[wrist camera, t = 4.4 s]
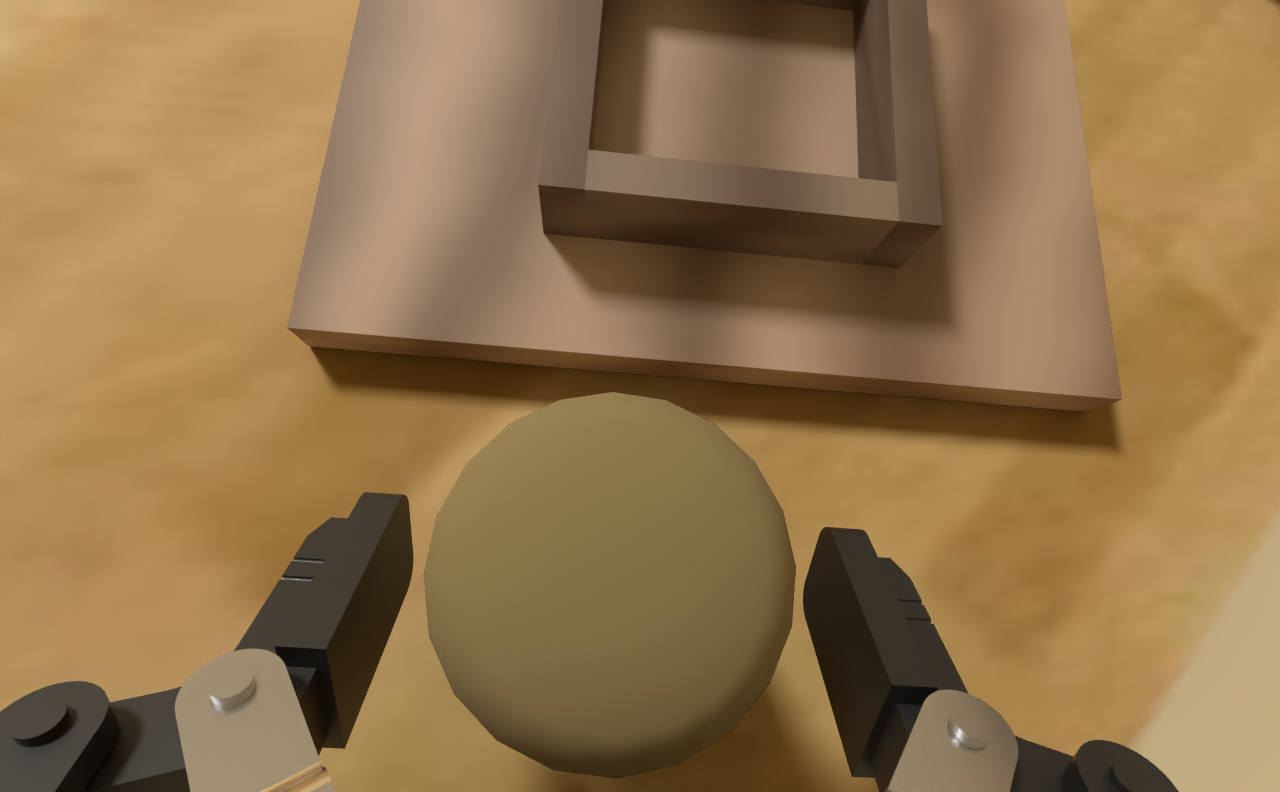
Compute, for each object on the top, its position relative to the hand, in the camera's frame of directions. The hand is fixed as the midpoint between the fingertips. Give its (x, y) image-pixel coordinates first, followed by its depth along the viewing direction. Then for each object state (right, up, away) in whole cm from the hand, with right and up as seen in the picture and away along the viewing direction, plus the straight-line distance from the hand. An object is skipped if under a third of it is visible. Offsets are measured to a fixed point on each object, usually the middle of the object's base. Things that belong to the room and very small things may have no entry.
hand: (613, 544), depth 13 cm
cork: (-1, -2, +6) cm, 6 cm away
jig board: (+3, +12, +10) cm, 16 cm away
